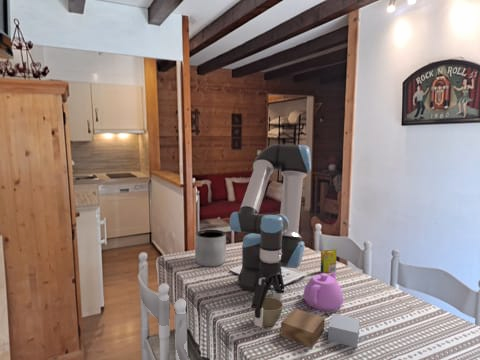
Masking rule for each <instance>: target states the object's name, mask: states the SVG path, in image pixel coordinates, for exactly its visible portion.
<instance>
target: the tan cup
mask: <svg viewBox="0 0 480 360" xmlns="http://www.w3.org/2000/svg"><path fill="white" fill-rule="evenodd" d="M283 307H284V303H283V302H282V300H281V301H280V300H278V299H275V298H274V297H267V296H266V297H265V300H264V303H263V306H262V308H263V326H265V327H272V326H274V325H275V324H276V323H277V322H278V320H279V319H280V317H281V314H282V312H283Z"/></svg>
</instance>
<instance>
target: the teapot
mask: <svg viewBox="0 0 480 360" xmlns="http://www.w3.org/2000/svg"><path fill="white" fill-rule="evenodd" d="M336 275H337V271H336V272H335V271H334V272H330V275H329V274H328V273H323V272H321V273H320V274H316V275H313V276H312V277H311V278H310V280H309V281H308V282H307V284H306V285H305V287H304V290H303V294H302V295H303V299H304V301H305V302H306V304H307V305H308V306H310V307H312V308H313V309H316V310H319V311H326V312H329V311H335V310H337V309H338V308H340V306H342V304H343V302H344V295H343V294H344V293H343V291H342V288H341V286H340V284H339V283H338V281H337V279H336V277H337V276H336Z"/></svg>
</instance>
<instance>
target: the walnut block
mask: <svg viewBox="0 0 480 360" xmlns="http://www.w3.org/2000/svg"><path fill="white" fill-rule="evenodd" d="M325 320H326V317H324V316H321V315H317V314H313V313H310V312H307V311H304V310H301V309H298V308H293V310H292V311H291V312H290V313H289V314H288V315H287V316H285V318H284V319H283V320H282V321H281V322H280V323H281V324H280V337H283V338H285V339H288V340H291V341H293V342H295V343H297V344H300V345H303V346H306V347H309V348H311V349H312V348H314V346H315V345H316V344H317V342H318V341H319V340H320V338H321V336H322V335H323V334H324V332H325Z"/></svg>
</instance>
